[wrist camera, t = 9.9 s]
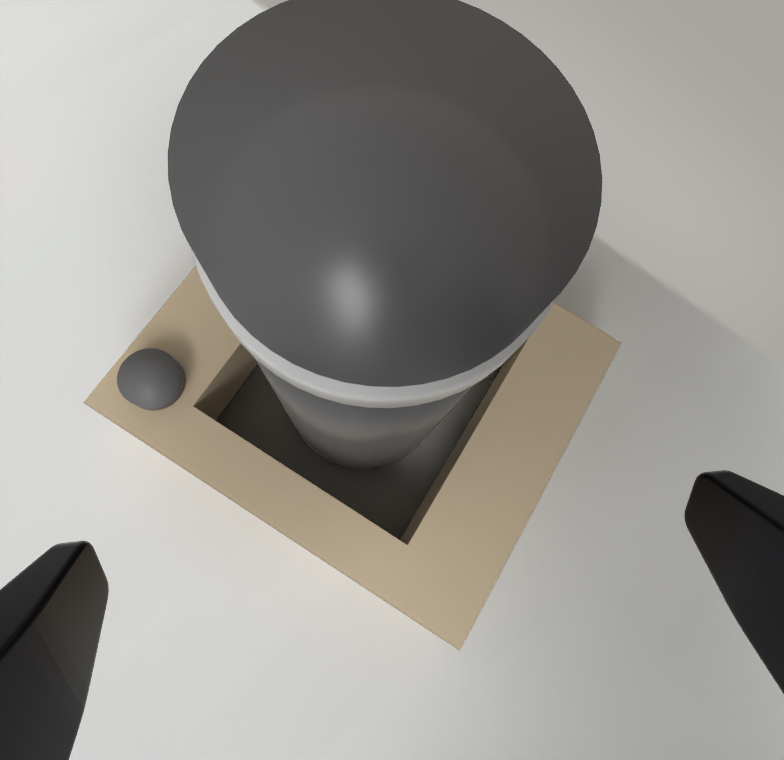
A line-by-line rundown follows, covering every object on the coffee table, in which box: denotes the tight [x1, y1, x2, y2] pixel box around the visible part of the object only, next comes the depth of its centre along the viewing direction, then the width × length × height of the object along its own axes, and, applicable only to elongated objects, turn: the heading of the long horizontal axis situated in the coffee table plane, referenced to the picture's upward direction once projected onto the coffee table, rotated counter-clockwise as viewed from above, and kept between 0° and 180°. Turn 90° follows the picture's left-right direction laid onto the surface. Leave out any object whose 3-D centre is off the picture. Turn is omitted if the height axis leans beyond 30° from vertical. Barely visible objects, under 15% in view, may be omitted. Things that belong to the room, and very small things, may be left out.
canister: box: [168, 0, 602, 469], centre depth 12 cm, size 5×5×12 cm
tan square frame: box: [83, 266, 621, 650], centre depth 16 cm, size 12×10×3 cm
